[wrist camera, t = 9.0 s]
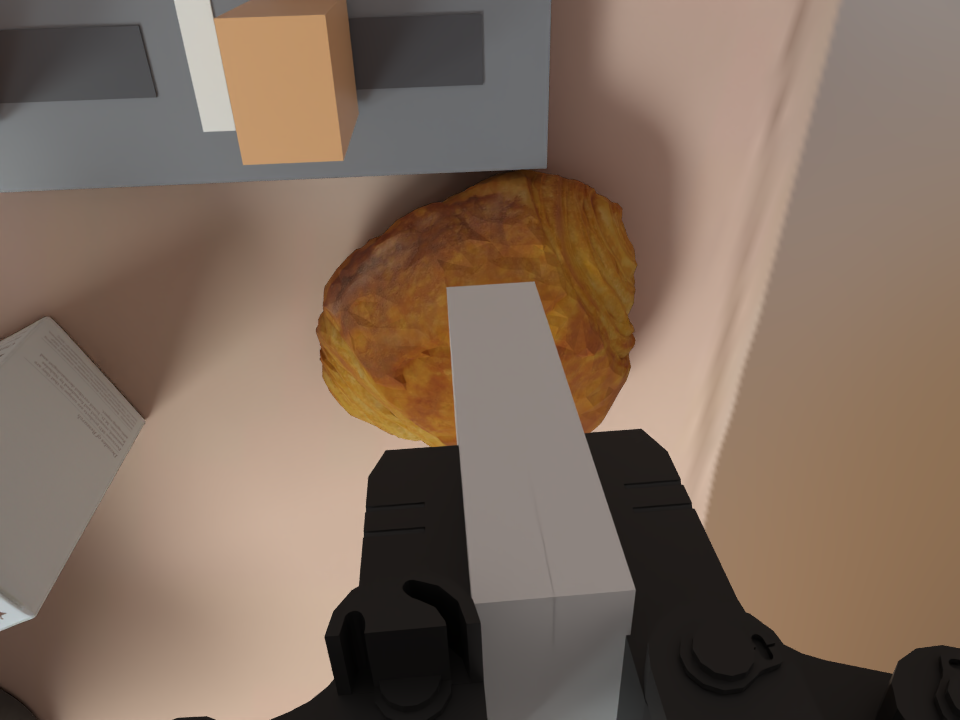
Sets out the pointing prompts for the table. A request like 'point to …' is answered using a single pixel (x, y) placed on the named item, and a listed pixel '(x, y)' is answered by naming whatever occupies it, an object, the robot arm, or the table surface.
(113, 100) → the panel
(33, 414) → the supplement box
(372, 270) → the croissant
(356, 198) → the table surface
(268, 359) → the table surface
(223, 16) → the block
